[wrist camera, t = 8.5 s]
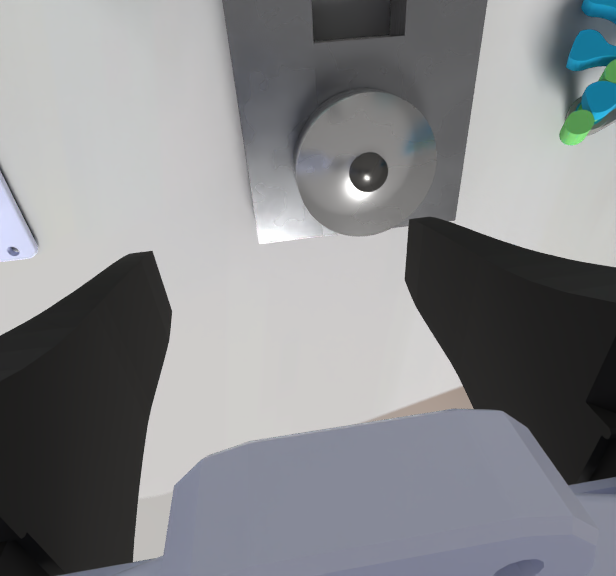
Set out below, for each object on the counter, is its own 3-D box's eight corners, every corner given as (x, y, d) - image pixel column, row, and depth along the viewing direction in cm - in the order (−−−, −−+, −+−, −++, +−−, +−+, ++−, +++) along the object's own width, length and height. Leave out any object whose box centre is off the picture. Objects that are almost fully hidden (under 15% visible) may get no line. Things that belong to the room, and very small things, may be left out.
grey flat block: (257, 226, 21) (260, 261, 18) (201, -151, 14) (188, -205, 10) (439, 205, 22) (471, 235, 19) (484, -164, 14) (551, -218, 11)
